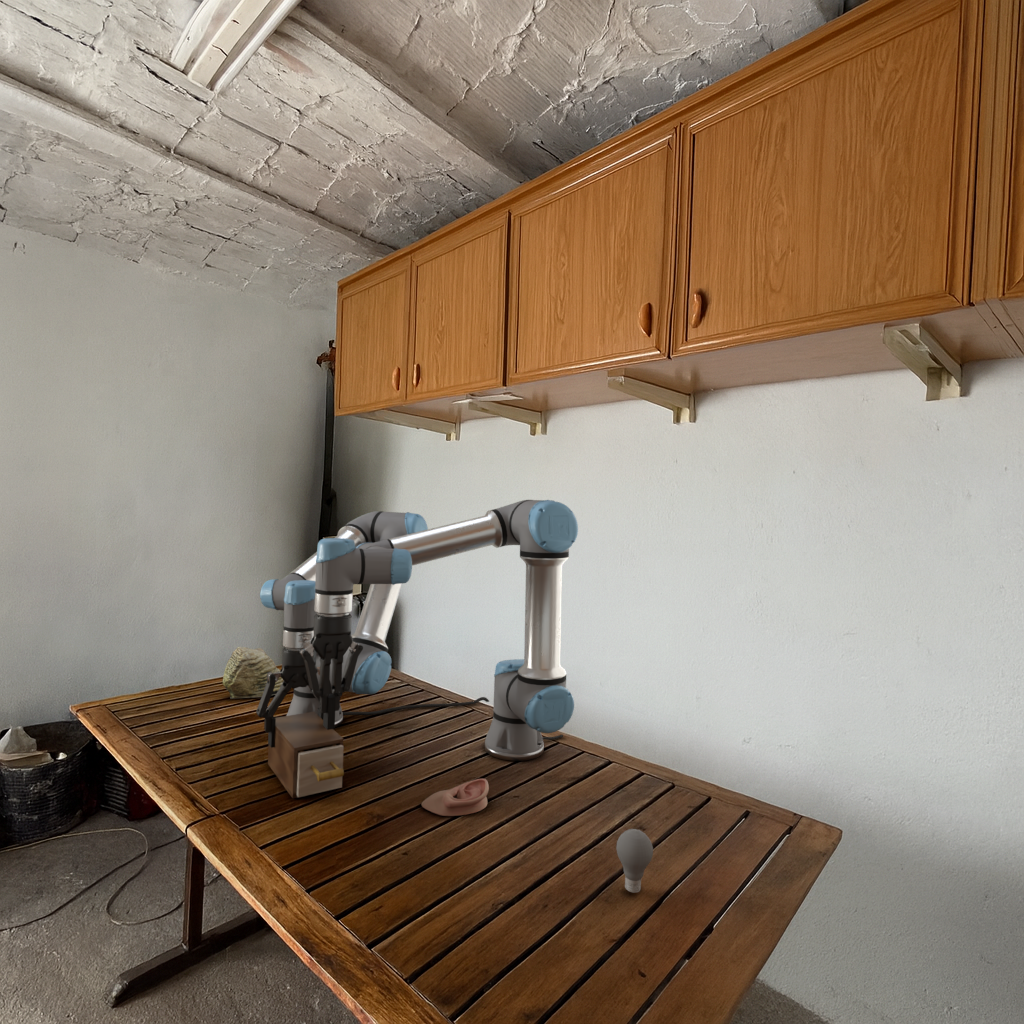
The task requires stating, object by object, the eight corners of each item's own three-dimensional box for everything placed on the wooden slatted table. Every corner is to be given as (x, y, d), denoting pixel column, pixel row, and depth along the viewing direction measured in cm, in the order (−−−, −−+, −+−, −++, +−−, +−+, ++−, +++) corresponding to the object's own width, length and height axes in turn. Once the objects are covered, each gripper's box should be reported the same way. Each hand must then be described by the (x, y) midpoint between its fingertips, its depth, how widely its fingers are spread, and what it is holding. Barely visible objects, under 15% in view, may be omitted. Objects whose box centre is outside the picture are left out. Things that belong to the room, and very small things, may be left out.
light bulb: (610, 879, 108) (613, 822, 108) (644, 879, 109) (647, 822, 109) (619, 902, 102) (622, 840, 102) (655, 901, 103) (658, 840, 103)
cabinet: (341, 787, 138) (343, 738, 138) (292, 798, 132) (294, 747, 132) (312, 755, 155) (314, 711, 154) (267, 764, 149) (269, 718, 148)
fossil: (218, 695, 195) (220, 647, 195) (278, 685, 208) (279, 640, 207) (228, 703, 189) (230, 653, 188) (289, 692, 201) (290, 645, 201)
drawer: (352, 799, 131) (354, 756, 131) (307, 810, 126) (309, 765, 126) (314, 756, 152) (315, 719, 152) (274, 764, 146) (275, 726, 146)
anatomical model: (416, 792, 129) (434, 769, 140) (415, 812, 129) (434, 787, 140) (479, 801, 126) (493, 777, 137) (479, 821, 126) (492, 795, 137)
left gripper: (251, 656, 138) (247, 756, 139) (353, 645, 152) (349, 737, 152) (243, 648, 144) (240, 744, 145) (341, 639, 158) (338, 727, 158)
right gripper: (307, 618, 124) (302, 738, 124) (370, 614, 131) (365, 727, 132) (295, 612, 130) (291, 726, 130) (356, 608, 137) (352, 716, 138)
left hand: (296, 740), depth 148 cm, fingers closed on cabinet, 10 cm apart
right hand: (328, 726), depth 131 cm, fingers closed
